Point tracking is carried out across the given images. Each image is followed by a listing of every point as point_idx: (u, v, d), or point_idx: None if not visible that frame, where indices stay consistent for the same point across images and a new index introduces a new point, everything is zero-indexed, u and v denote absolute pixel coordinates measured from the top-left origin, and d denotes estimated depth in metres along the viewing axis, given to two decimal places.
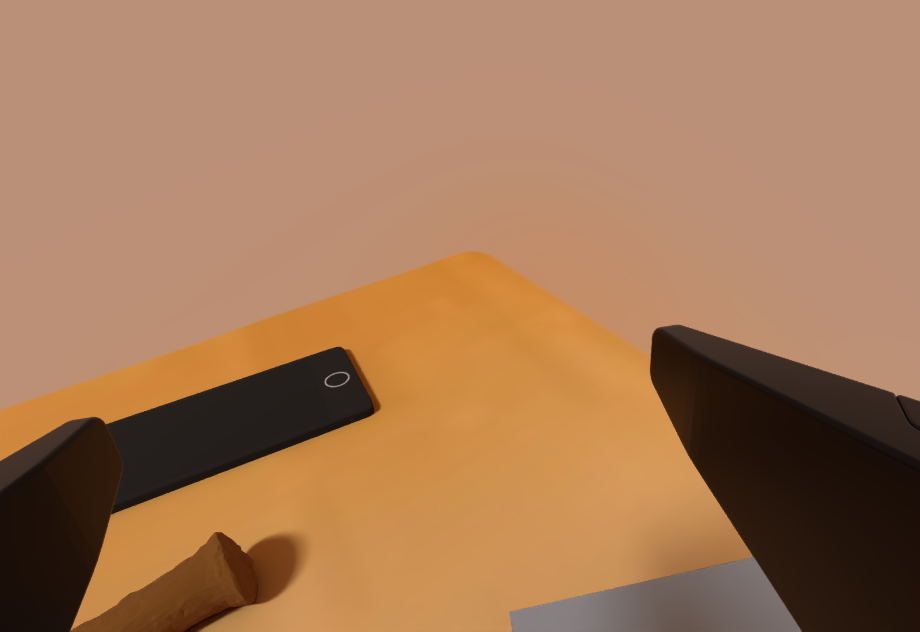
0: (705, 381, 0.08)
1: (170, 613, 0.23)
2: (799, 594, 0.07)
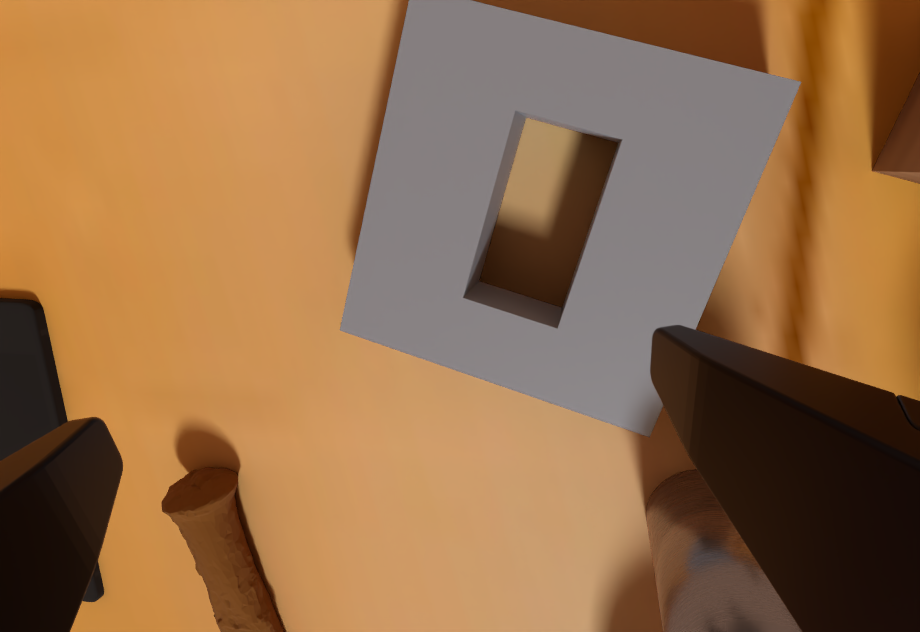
0: (705, 381, 0.08)
1: (226, 544, 0.27)
2: (799, 594, 0.07)
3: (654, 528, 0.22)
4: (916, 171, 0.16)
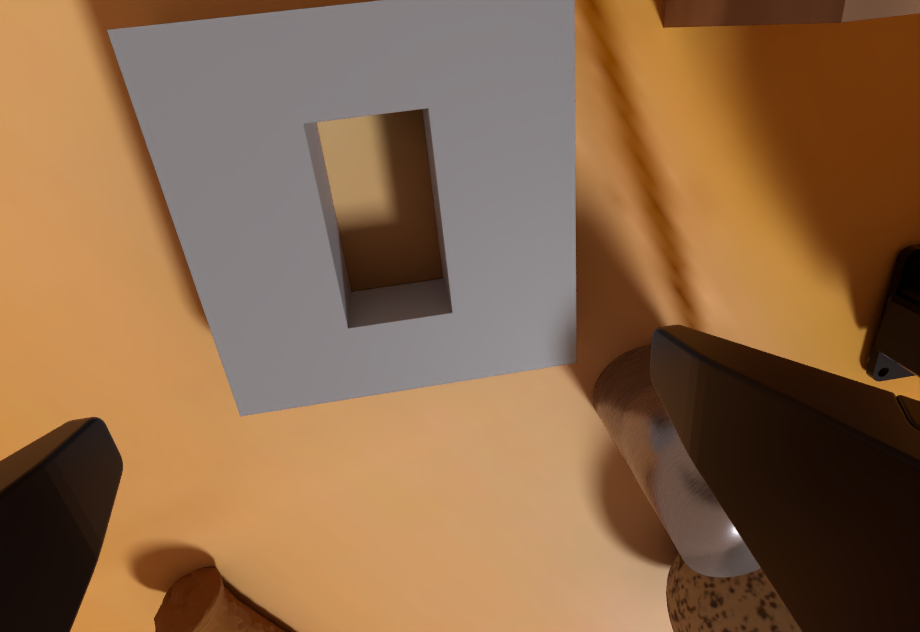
0: (705, 381, 0.08)
1: None
2: (799, 594, 0.07)
3: (610, 425, 0.23)
4: (706, 25, 0.16)
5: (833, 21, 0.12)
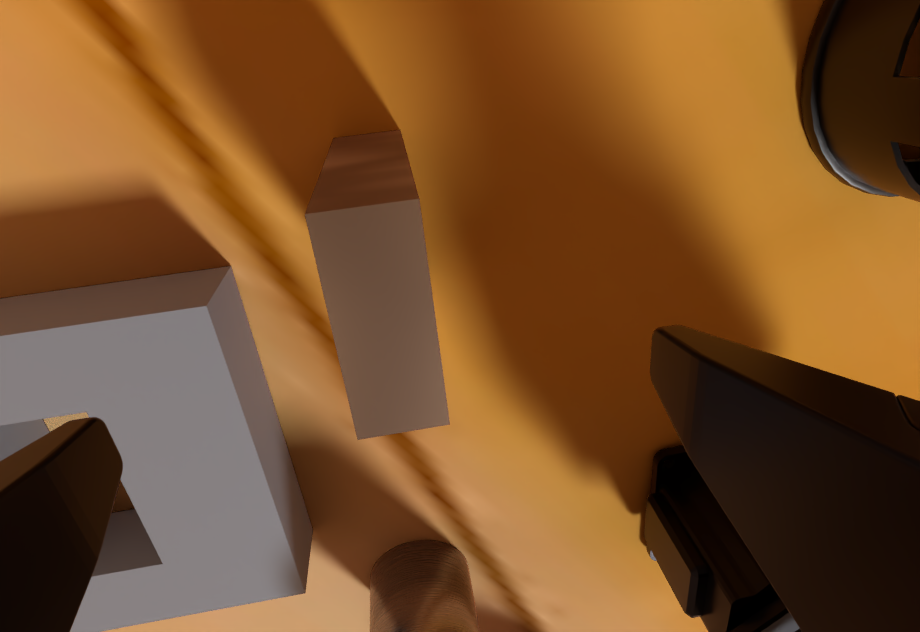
0: (705, 381, 0.08)
1: None
2: (799, 594, 0.07)
3: None
4: None
5: None
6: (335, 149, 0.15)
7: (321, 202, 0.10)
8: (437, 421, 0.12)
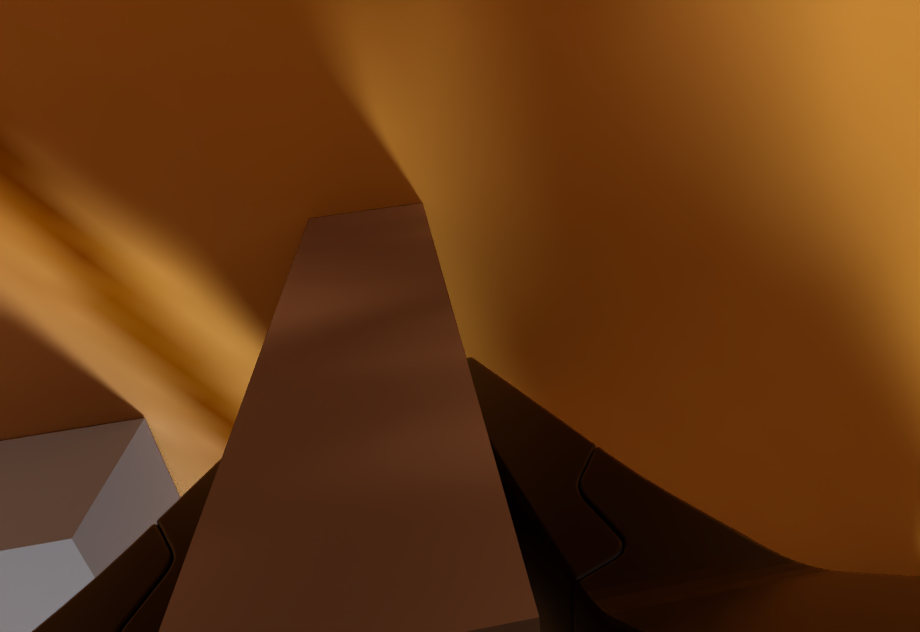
0: None
1: None
2: None
3: None
4: None
5: None
6: (306, 256, 0.08)
7: (218, 573, 0.03)
8: None
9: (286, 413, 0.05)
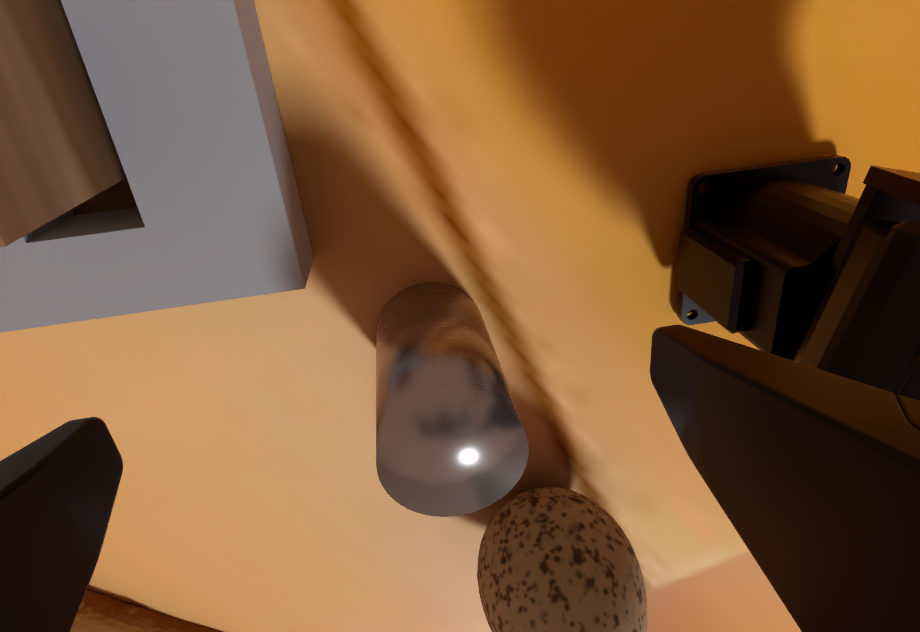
0: (705, 381, 0.08)
1: None
2: (799, 594, 0.07)
3: None
4: None
5: None
6: None
7: None
8: None
9: None
